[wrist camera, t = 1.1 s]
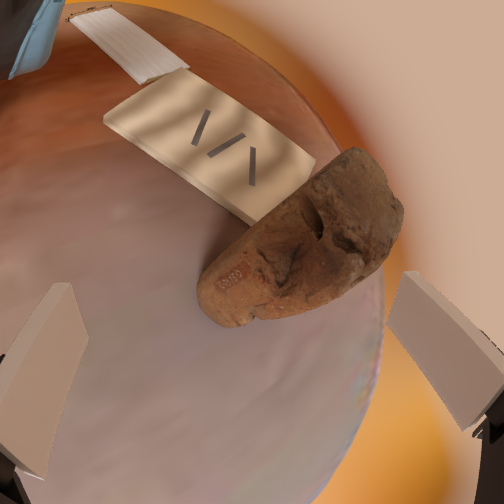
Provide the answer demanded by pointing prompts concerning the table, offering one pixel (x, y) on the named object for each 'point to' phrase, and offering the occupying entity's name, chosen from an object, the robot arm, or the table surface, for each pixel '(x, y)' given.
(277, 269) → the block
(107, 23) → the baseboard
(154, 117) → the board
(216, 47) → the table surface
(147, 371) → the table surface
